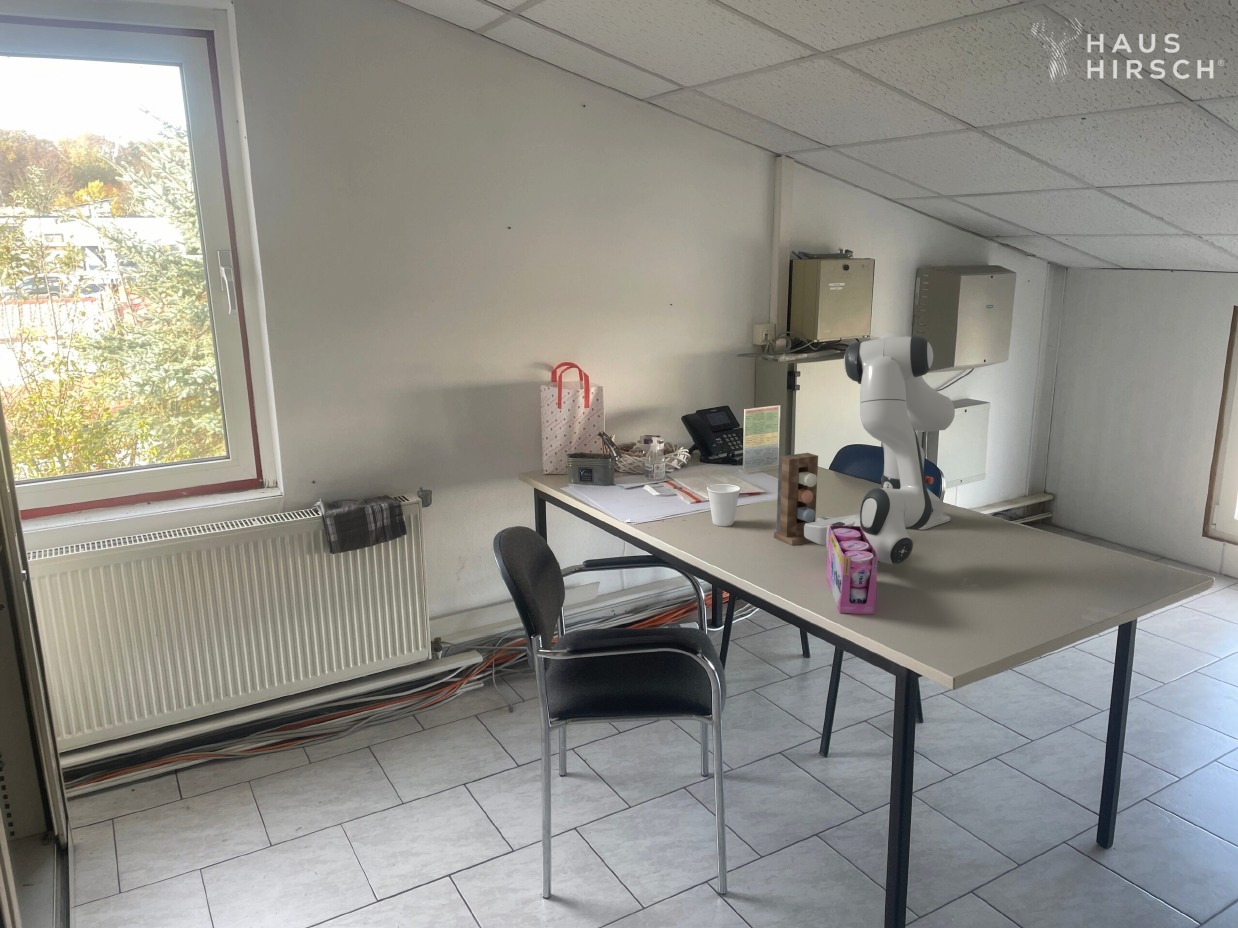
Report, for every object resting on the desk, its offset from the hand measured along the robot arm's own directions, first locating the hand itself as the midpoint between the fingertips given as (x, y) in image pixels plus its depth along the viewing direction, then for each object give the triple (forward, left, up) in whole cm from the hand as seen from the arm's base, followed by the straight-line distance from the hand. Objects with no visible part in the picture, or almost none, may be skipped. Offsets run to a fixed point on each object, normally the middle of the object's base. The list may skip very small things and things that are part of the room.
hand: (820, 519), depth 232 cm
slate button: (0, -6, -2) cm, 6 cm away
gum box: (+16, +30, -8) cm, 35 cm away
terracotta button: (0, -7, +3) cm, 8 cm away
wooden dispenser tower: (0, -9, -8) cm, 12 cm away
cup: (+10, -31, -8) cm, 34 cm away
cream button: (0, -6, +8) cm, 10 cm away
